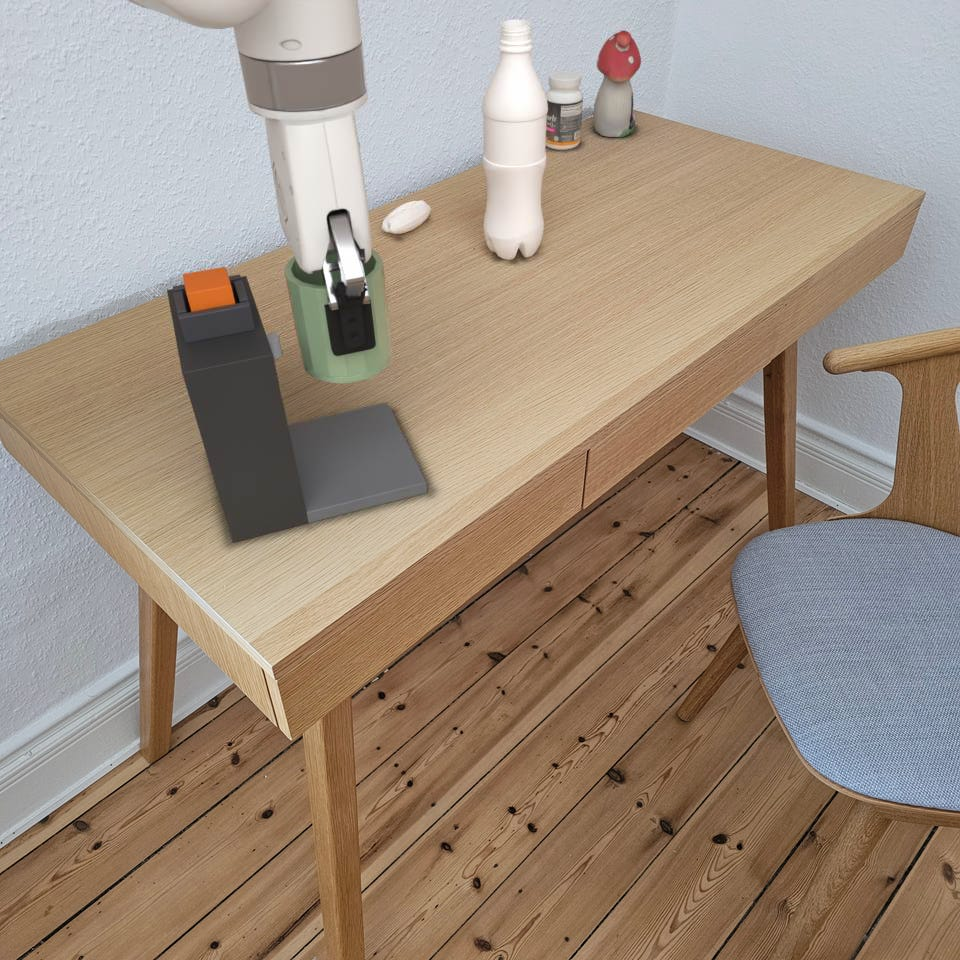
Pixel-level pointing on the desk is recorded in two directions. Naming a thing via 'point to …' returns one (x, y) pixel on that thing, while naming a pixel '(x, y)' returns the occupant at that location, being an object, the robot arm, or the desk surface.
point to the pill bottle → (564, 110)
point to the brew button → (208, 289)
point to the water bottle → (514, 147)
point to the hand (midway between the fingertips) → (341, 322)
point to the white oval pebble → (406, 217)
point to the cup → (314, 329)
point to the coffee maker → (279, 428)
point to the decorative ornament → (616, 86)
